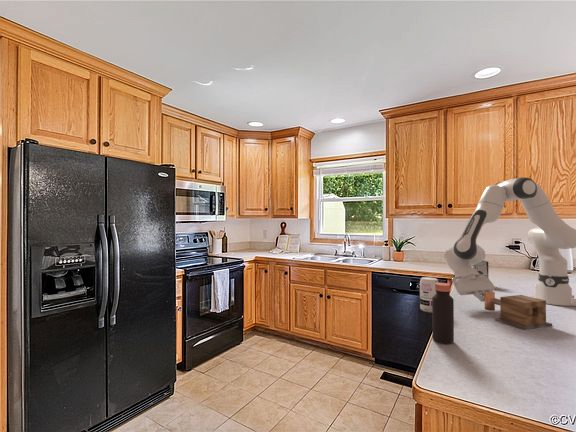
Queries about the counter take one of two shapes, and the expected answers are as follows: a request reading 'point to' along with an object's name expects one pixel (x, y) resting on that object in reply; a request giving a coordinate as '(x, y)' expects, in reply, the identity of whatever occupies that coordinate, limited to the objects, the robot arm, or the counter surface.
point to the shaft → (490, 300)
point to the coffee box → (482, 267)
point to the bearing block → (523, 312)
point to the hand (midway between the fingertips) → (484, 300)
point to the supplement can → (427, 293)
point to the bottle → (443, 314)
